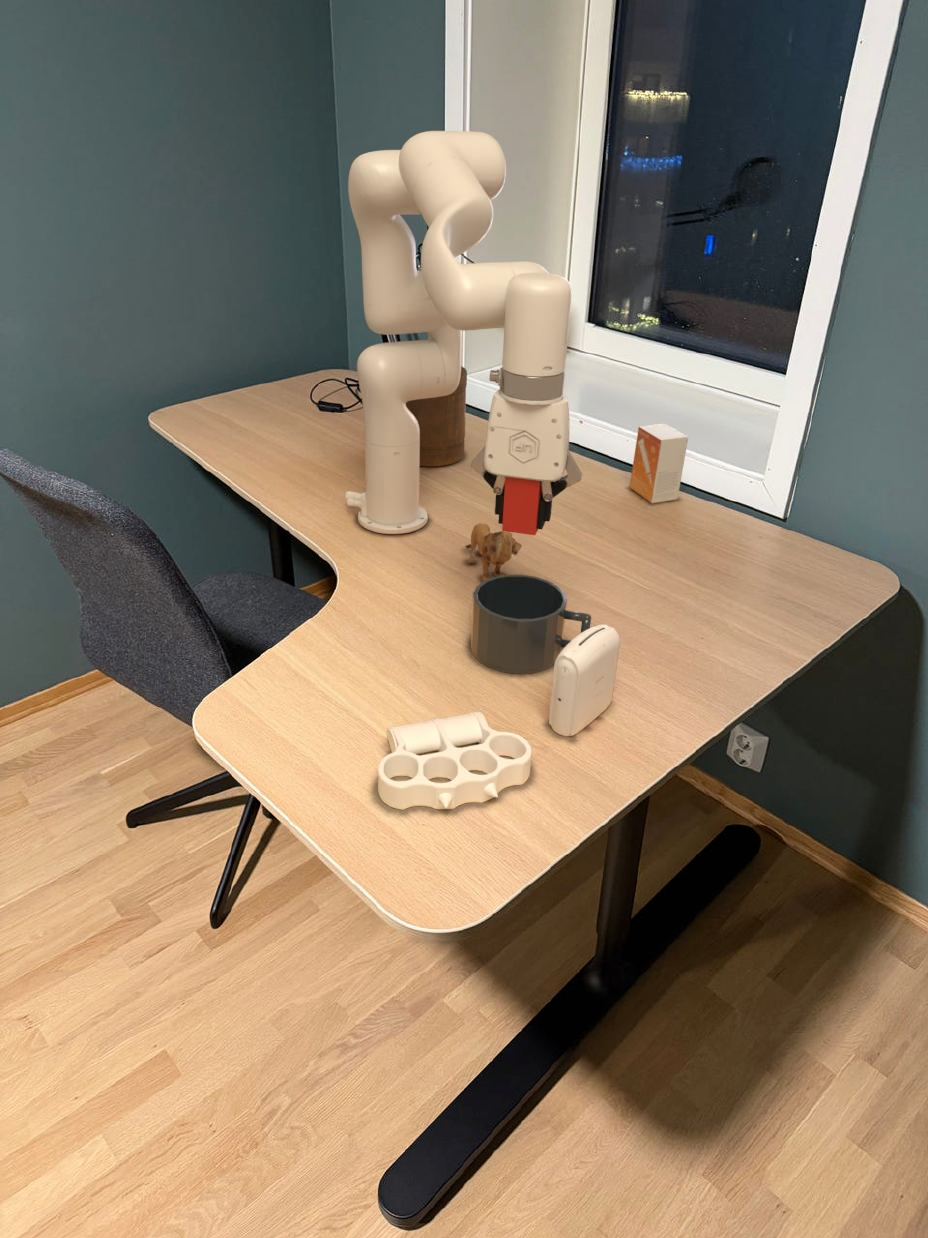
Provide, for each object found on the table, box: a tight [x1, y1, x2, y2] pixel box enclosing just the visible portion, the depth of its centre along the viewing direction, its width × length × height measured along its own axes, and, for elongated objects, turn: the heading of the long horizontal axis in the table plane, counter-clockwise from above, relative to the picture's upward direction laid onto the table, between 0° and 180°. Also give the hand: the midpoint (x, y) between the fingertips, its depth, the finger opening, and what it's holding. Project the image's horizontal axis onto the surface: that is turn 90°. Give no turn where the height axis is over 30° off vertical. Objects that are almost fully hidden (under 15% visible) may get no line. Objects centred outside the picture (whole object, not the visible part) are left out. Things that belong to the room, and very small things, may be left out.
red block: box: [501, 477, 542, 536], centre depth 113 cm, size 4×4×8 cm
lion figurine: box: [464, 522, 523, 581], centre depth 143 cm, size 15×5×9 cm, turn 28°
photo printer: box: [548, 624, 621, 737], centre depth 109 cm, size 10×4×12 cm, turn 140°
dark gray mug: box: [470, 573, 592, 675], centre depth 122 cm, size 16×13×8 cm
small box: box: [629, 423, 689, 504], centre depth 171 cm, size 8×6×13 cm
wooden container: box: [406, 365, 468, 467], centre depth 183 cm, size 15×15×22 cm
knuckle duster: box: [377, 710, 533, 811], centre depth 101 cm, size 3×18×15 cm
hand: (522, 521), depth 115 cm, fingers closed on red block, 4 cm apart
